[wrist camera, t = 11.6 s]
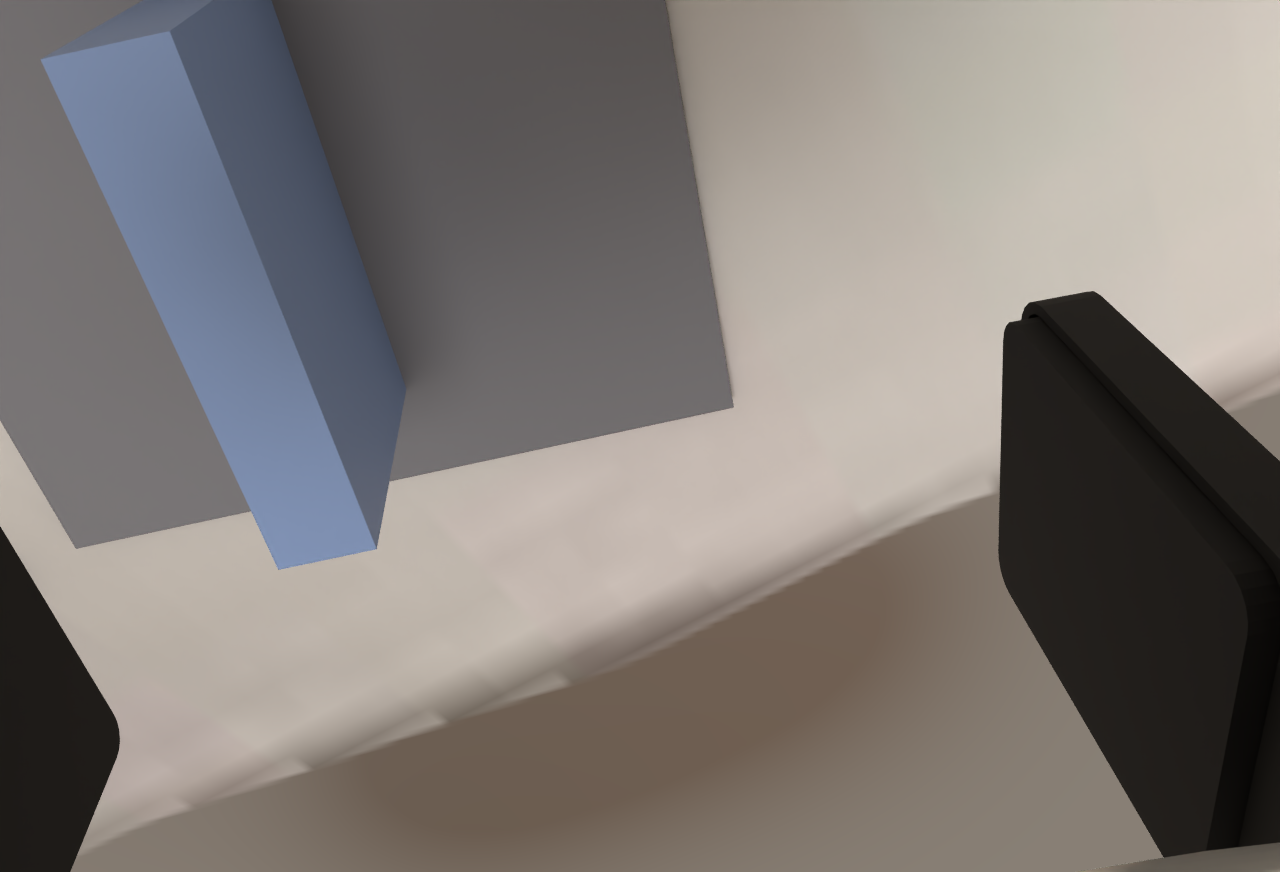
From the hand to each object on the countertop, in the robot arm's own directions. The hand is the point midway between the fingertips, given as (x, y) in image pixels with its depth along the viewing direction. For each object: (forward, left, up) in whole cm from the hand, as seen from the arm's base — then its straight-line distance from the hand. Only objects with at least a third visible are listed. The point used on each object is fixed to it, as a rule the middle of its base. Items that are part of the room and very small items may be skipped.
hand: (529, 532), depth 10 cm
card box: (+5, +1, -14) cm, 14 cm away
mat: (+5, 0, -14) cm, 15 cm away
